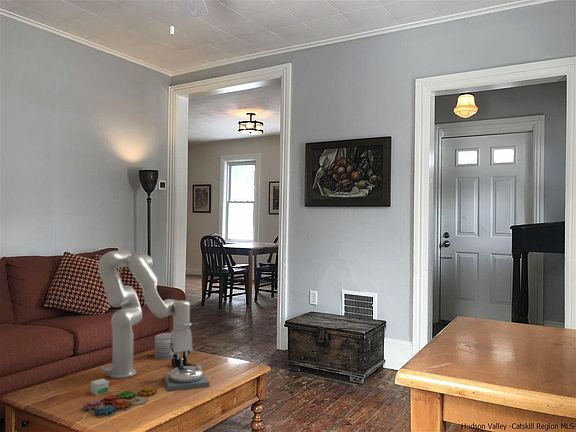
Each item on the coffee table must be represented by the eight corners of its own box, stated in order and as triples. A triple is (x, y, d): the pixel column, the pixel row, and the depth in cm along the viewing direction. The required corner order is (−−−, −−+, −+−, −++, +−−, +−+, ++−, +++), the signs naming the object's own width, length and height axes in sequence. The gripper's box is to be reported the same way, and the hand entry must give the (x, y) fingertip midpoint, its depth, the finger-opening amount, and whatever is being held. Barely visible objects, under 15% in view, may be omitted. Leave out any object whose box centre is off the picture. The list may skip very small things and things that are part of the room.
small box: (96, 396, 197) (96, 384, 197) (90, 392, 201) (90, 381, 201) (109, 392, 201) (109, 381, 202) (103, 389, 205) (103, 378, 205)
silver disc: (178, 385, 205) (178, 367, 205) (163, 376, 217) (164, 359, 217) (208, 378, 215) (208, 361, 215) (192, 370, 226) (193, 353, 227)
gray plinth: (168, 391, 204) (168, 379, 204) (163, 378, 221) (163, 367, 221) (209, 386, 211) (209, 375, 211) (201, 374, 227) (201, 364, 228)
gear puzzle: (145, 388, 208) (145, 379, 208) (169, 396, 199) (169, 387, 199) (79, 410, 183) (79, 399, 183) (103, 421, 174) (103, 409, 174)
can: (175, 359, 253) (175, 336, 253) (153, 360, 250) (154, 337, 251) (175, 353, 264) (176, 332, 264) (155, 354, 261) (155, 332, 262)
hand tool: (197, 372, 231) (198, 363, 231) (191, 374, 228) (191, 364, 228) (176, 364, 244) (176, 355, 244) (169, 365, 241) (169, 356, 241)
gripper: (191, 323, 229) (191, 361, 228) (162, 328, 217) (161, 368, 217) (200, 326, 223) (199, 364, 223) (170, 331, 212) (169, 371, 212)
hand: (180, 366), depth 220 cm, fingers closed on silver disc, 2 cm apart
